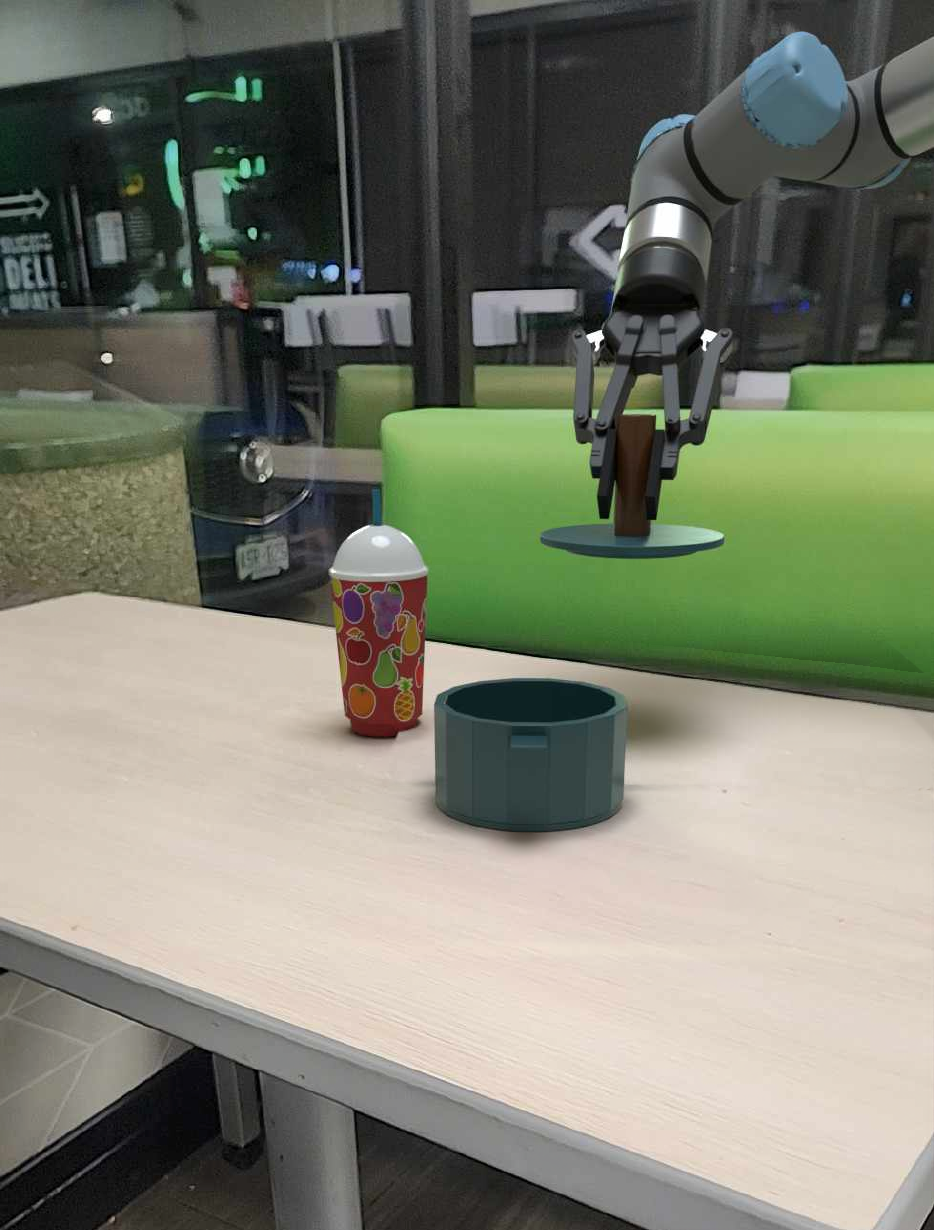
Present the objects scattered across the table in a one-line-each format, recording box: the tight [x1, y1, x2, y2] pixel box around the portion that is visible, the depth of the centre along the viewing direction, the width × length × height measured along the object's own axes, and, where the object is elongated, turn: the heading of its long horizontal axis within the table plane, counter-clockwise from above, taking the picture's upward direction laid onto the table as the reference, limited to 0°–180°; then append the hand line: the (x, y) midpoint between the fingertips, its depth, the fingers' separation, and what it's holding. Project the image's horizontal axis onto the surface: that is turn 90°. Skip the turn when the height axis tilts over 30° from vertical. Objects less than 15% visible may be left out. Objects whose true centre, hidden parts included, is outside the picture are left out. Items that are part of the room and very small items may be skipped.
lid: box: [539, 413, 725, 560], centre depth 101 cm, size 15×15×10 cm
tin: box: [433, 677, 629, 833], centre depth 91 cm, size 14×19×8 cm
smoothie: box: [328, 489, 430, 738], centre depth 107 cm, size 8×8×20 cm
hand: (626, 507), depth 98 cm, fingers closed on lid, 3 cm apart
